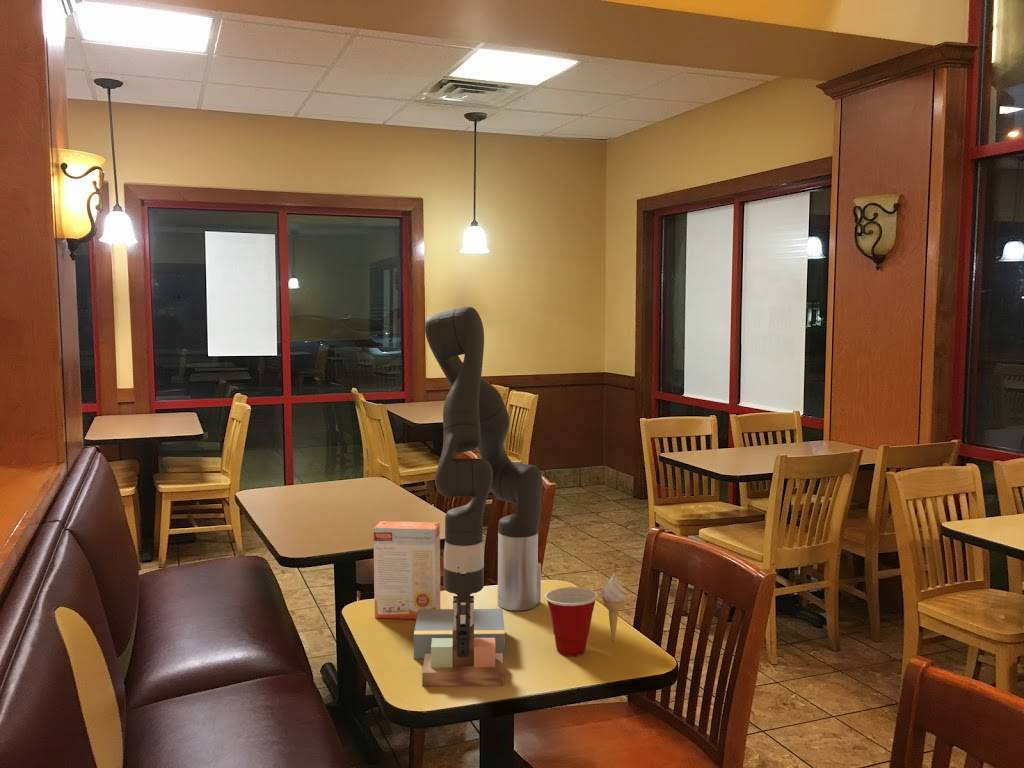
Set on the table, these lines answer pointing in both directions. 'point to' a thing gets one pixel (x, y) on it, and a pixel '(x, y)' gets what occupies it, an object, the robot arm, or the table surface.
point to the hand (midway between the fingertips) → (463, 652)
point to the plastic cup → (571, 617)
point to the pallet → (463, 669)
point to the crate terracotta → (484, 652)
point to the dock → (441, 626)
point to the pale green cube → (442, 653)
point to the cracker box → (406, 568)
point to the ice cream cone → (613, 601)
